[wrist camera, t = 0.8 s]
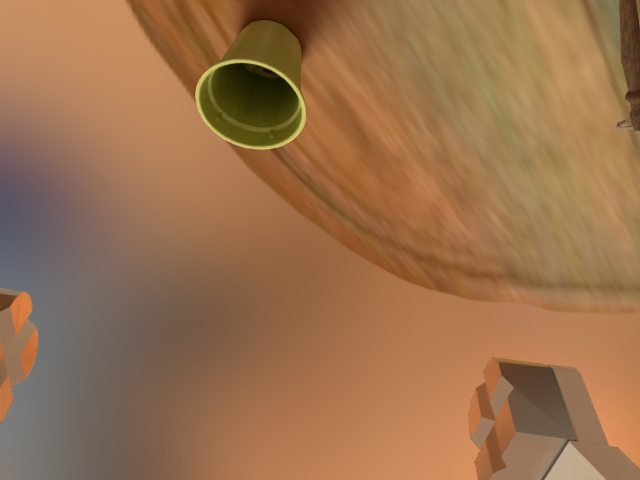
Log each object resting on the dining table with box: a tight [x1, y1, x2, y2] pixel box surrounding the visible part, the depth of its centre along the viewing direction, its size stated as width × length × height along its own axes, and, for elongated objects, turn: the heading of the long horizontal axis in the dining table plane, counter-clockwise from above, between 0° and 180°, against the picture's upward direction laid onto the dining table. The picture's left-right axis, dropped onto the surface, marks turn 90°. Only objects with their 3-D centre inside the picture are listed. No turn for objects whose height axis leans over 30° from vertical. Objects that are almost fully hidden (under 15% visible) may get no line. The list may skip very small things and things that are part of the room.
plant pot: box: [196, 20, 306, 149], centre depth 54 cm, size 9×9×9 cm
